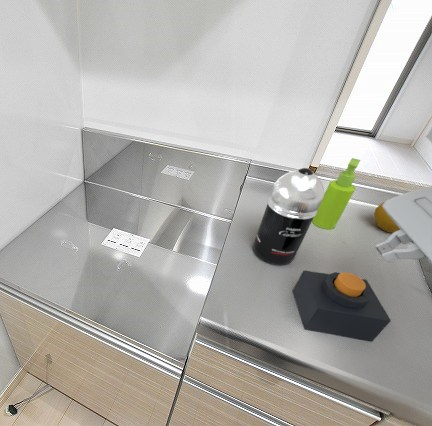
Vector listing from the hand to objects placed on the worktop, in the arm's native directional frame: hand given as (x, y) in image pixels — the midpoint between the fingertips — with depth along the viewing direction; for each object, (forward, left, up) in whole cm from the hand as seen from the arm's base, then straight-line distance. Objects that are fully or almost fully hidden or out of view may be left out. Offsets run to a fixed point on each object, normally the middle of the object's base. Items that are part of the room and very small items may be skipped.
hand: (380, 253), depth 51 cm
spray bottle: (+20, -1, -18) cm, 27 cm away
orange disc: (+1, +1, -9) cm, 10 cm away
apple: (+18, -39, -18) cm, 46 cm away
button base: (+1, +1, -18) cm, 18 cm away
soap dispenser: (+26, -25, -18) cm, 40 cm away
